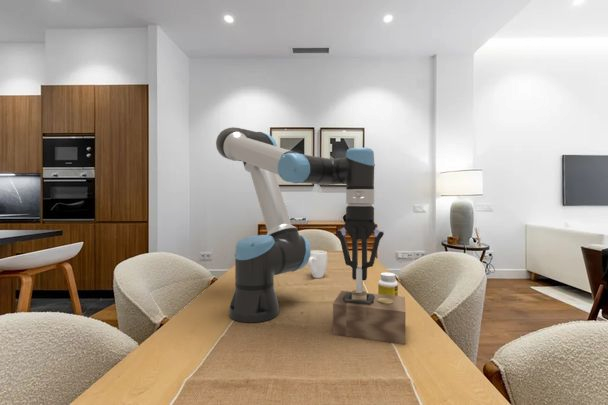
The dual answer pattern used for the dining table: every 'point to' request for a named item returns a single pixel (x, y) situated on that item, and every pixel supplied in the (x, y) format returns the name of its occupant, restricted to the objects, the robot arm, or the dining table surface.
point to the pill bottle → (388, 284)
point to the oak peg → (359, 295)
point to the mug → (317, 263)
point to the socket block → (370, 317)
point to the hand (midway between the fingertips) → (359, 291)
